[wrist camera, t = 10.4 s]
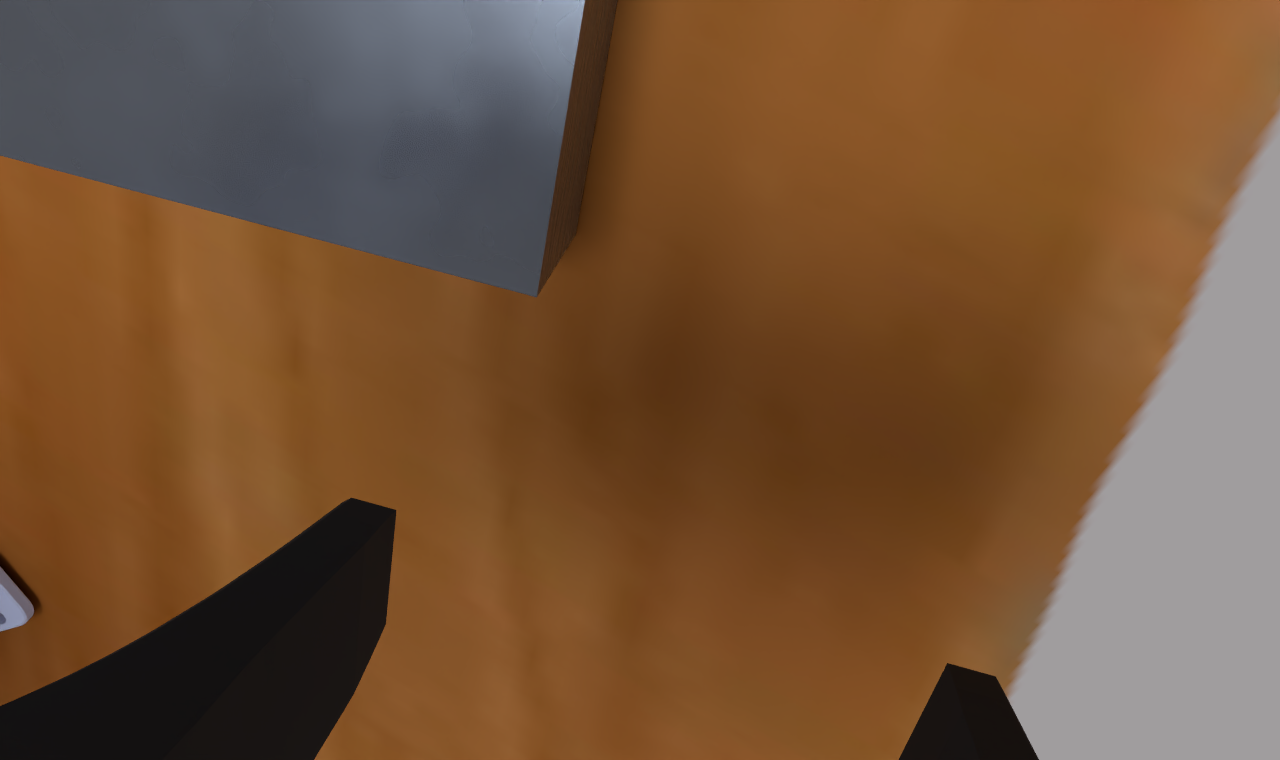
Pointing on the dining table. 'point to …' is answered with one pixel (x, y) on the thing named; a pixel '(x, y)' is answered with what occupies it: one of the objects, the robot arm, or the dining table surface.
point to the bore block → (326, 116)
